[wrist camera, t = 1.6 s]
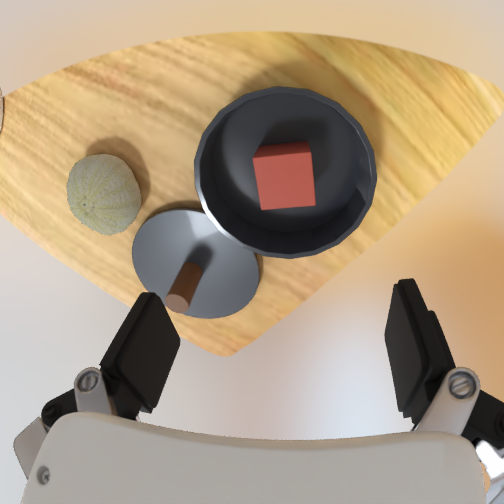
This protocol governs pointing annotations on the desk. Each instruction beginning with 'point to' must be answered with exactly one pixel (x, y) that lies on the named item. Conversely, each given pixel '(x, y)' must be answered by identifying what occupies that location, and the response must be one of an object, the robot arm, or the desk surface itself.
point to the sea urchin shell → (103, 193)
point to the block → (284, 175)
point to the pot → (323, 161)
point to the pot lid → (194, 264)
